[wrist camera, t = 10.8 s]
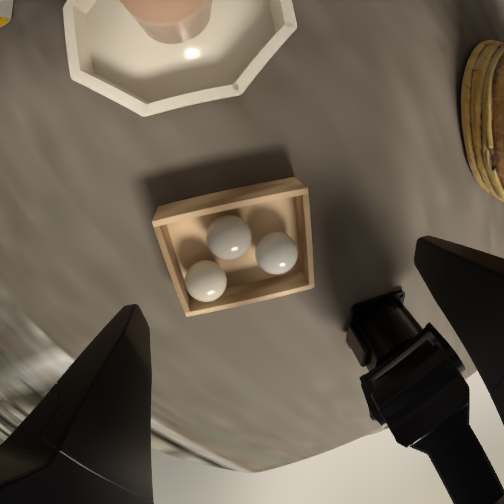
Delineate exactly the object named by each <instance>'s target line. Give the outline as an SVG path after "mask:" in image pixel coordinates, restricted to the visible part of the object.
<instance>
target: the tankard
mask: <svg viewBox="0 0 504 504" xmlns="http://www.w3.org/2000/svg"><path fill="white" fill-rule="evenodd" d="M461 119H462V130H463V136H464V143H465V149H466V154H467V160H468V163H469V166H470V168H471V171H472V173H473V176H474V178H475V179H476V181H477V182H478V184H479V185H480V187H481V188H482V189H483V190H485V191H486V192H488V193H489V194H491V195H493V196H495V197H496V198H497V199H499V200H501V201H502V202H504V43H503V42H500V41H495V40H487V41H483V42H481V43H479V44H478V45H477V46H476V47H475V49H474V50H473V52H472V53H471V55H470V57H469V59H468V61H467V64H466V68H465V72H464V75H463V79H462V89H461Z"/></svg>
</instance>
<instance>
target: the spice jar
mask: <svg viewBox="0 0 504 504" xmlns="http://www.w3.org/2000/svg"><path fill="white" fill-rule="evenodd" d="M119 1H120V2H121V3H122V4H123V5H124V7H125V8H126V9H127V10H128V11H129V13H130V14H131V15H132V16H133V17H134V19H135V20H136V21H137V22H138V23H139V25H140V26H141V27H142V28H143V30H144V31H145V32H146V33H147V35H148V36H149V37H151V38H152V39H154V40H155V41H158V42H161V43H165V44H177V43H182V42H186V41H188V40H190V39H193V38H194V37H196V36H197V35H199V34H200V33H201V32H202V31H203V30H204V29H205V28H206V26H207V24H208V22H209V20H210V17H211V8H212V0H119Z"/></svg>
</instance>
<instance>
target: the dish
mask: <svg viewBox="0 0 504 504" xmlns="http://www.w3.org/2000/svg"><path fill="white" fill-rule="evenodd" d="M63 16H64V29H65V39H66V48H67V56H68V63H69V70H70V76H71V78H72V80H74V81H76V82H78V83H80V84H82V85H84V86H86V87H88V88H90V89H92V90H94V91H96V92H98V93H100V94H102V95H104V96H105V97H107V98H109V99H111V100H113V101H115V102H117V103H119V104H121V105H123V106H124V107H126V108H128V109H130V110H132V111H134V112H135V113H137V114H139V115H141V116H143V117H144V116H145V117H147V116H151V115H155V114H159V113H162V112H166V111H170V110H174V109H178V108H182V107H186V106H190V105H195V104H199V103H204V102H208V101H213V100H219V99H224V98H229V97H235V96H239V95H241V94H242V93H243V92H244V91H245V89H246V88H247V87H248V86H249V84H250V83H251V82H252V80H253V79H254V78H255V77H256V75H257V74H258V73H259V72H260V70H261V69H262V68H263V67H264V66H265V64H266V63H267V62H268V61H269V60H270V58H271V57H272V56H273V55H274V54H275V52H276V51H277V50H278V49H279V48H280V47H281V46H282V44H283V43H284V42H285V41H286V40H287V39H288V38H289V36H290V35H291V34H292V33H293V32H294V31H295V30H296V29H297V28H296V27H297V23H296V18H295V13H294V8H293V4H292V0H212V8H211V17H210V20H209V22H208V24H207V26H206V28H205V29H204V30H203V31H202V32H201V33H200V34H199V35H197V36H196V37H194V38H193V39H190V40H188V41H186V42H182V43H177V44H165V43H161V42H158V41H155V40H154V39H152V38H151V37H149V36H148V35H147V33H146V32H145V31H144V30H143V28H142V27H141V26H140V25H139V23H138V22H137V21H136V20H135V19H134V17H133V16H132V15H131V14H130V13H129V11H128V10H127V9H126V8H125V7H124V5H123V4H122V3H121V2H120V1H119V0H67V2H66V3H65V5H64V7H63Z"/></svg>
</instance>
